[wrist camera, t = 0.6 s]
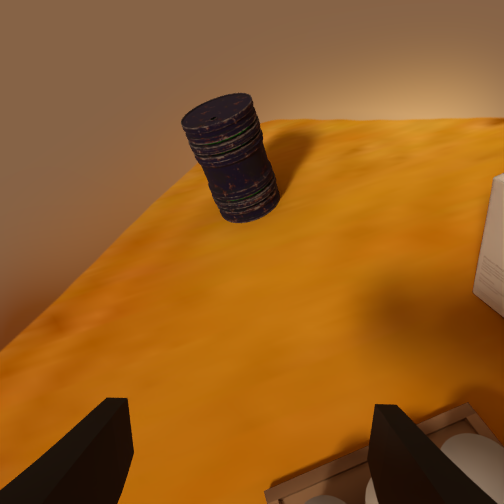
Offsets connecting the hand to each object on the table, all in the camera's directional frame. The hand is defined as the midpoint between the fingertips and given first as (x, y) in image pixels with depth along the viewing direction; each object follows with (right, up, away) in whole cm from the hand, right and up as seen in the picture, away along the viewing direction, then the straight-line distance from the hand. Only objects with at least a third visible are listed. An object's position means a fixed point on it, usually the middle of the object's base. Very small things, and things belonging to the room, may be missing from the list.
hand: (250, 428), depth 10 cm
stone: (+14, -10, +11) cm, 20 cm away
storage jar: (0, +13, +43) cm, 45 cm away
